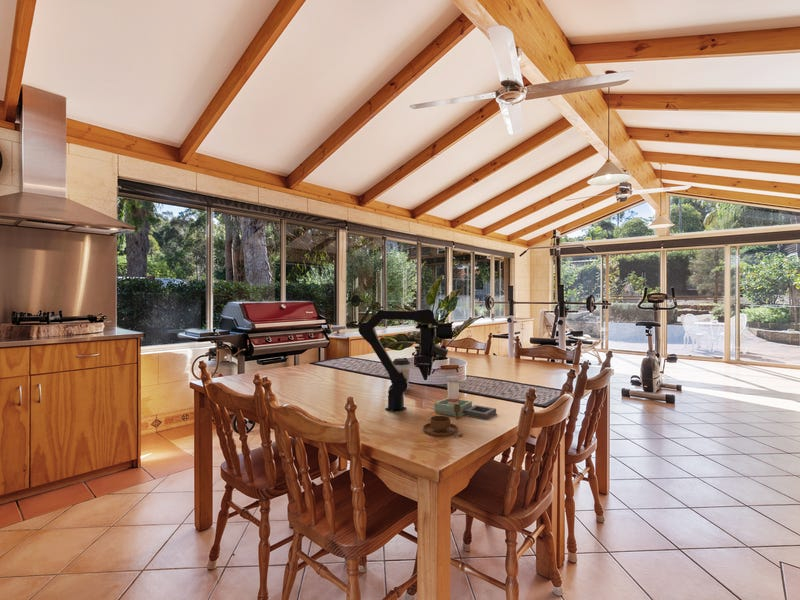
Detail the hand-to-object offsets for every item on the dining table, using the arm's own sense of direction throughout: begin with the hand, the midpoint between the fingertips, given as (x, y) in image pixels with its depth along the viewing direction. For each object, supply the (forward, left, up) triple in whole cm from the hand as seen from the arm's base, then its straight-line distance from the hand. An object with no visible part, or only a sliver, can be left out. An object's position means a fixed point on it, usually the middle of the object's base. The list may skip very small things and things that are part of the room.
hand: (427, 377), depth 164 cm
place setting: (-14, -19, -14) cm, 27 cm away
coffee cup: (+23, +31, -13) cm, 40 cm away
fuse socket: (+7, -20, -13) cm, 25 cm away
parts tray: (+5, -9, -13) cm, 17 cm away
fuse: (+5, -9, -12) cm, 16 cm away
